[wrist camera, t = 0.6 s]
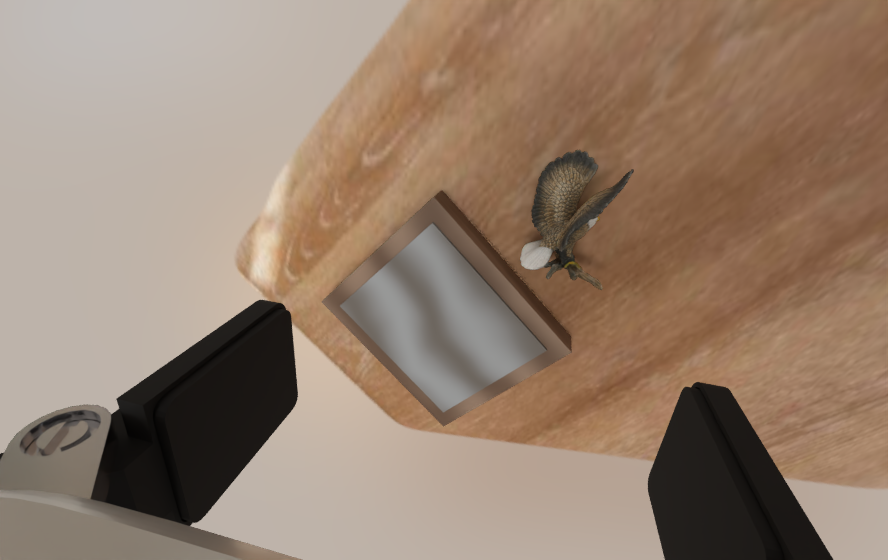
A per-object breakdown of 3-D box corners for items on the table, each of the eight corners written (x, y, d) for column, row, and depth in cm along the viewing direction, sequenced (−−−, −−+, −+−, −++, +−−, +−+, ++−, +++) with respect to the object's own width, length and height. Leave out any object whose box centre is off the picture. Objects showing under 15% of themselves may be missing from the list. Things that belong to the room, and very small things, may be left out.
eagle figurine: (628, 270, 34) (657, 162, 29) (579, 308, 31) (603, 191, 25) (550, 238, 39) (564, 140, 34) (499, 267, 35) (506, 162, 30)
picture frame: (442, 190, 37) (432, 197, 34) (570, 336, 39) (571, 354, 37) (334, 290, 44) (319, 303, 41) (449, 409, 46) (442, 428, 44)
